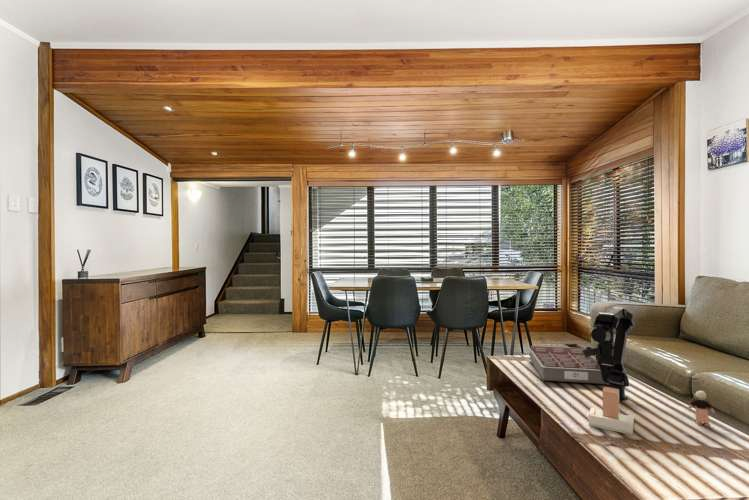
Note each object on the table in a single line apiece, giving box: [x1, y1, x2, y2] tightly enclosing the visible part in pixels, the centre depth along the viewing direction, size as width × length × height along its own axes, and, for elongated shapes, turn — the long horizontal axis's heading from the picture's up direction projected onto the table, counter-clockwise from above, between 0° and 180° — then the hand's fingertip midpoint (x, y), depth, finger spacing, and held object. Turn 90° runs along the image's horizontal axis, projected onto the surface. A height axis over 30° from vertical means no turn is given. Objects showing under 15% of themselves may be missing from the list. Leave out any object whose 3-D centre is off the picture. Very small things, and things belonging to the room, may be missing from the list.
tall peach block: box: [602, 386, 620, 420], centre depth 151 cm, size 6×5×12 cm
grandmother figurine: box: [687, 390, 716, 427], centre depth 150 cm, size 8×4×13 cm, turn 71°
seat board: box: [588, 407, 635, 436], centre depth 152 cm, size 16×14×4 cm
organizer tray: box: [528, 345, 608, 385], centre depth 214 cm, size 32×40×10 cm
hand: (603, 380), depth 166 cm, fingers open, 9 cm apart
